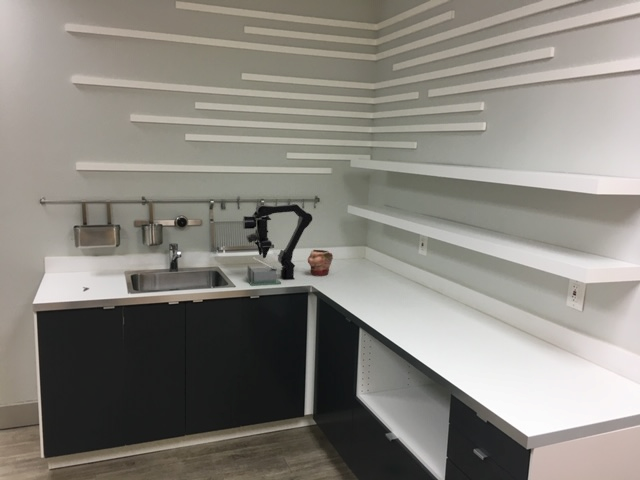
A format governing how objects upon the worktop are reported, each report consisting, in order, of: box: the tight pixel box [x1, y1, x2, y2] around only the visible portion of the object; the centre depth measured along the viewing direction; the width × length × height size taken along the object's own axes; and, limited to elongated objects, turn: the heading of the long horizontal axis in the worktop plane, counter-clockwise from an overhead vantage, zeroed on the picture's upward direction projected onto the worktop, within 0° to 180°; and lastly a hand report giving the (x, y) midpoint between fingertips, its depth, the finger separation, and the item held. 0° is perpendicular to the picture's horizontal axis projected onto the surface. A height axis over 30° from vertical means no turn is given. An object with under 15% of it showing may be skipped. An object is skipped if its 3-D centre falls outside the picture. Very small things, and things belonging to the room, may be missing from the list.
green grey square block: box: [245, 265, 282, 287], centre depth 281 cm, size 16×16×8 cm
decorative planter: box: [307, 249, 334, 277], centre depth 302 cm, size 20×12×14 cm, turn 144°
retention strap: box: [252, 256, 276, 269], centre depth 280 cm, size 13×4×1 cm, turn 110°
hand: (262, 256), depth 283 cm, fingers open, 9 cm apart
